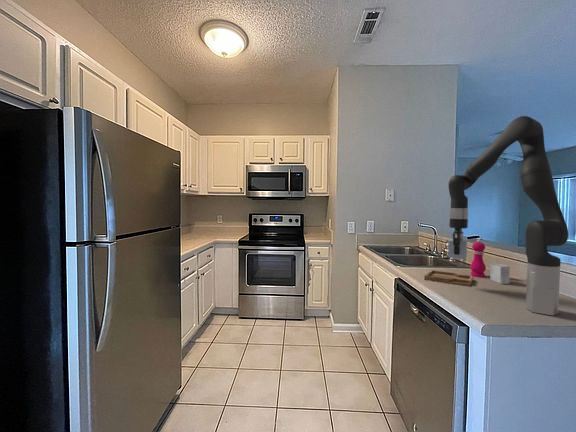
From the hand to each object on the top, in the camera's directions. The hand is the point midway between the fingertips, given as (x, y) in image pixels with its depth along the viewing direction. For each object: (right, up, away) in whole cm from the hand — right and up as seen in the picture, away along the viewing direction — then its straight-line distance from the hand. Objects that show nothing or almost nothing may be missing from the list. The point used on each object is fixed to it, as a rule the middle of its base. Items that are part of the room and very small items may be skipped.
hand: (457, 253), depth 144 cm
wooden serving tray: (+2, -15, +12) cm, 19 cm away
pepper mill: (+23, -15, +21) cm, 34 cm away
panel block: (0, -2, 0) cm, 2 cm away
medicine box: (+26, -16, +8) cm, 31 cm away
